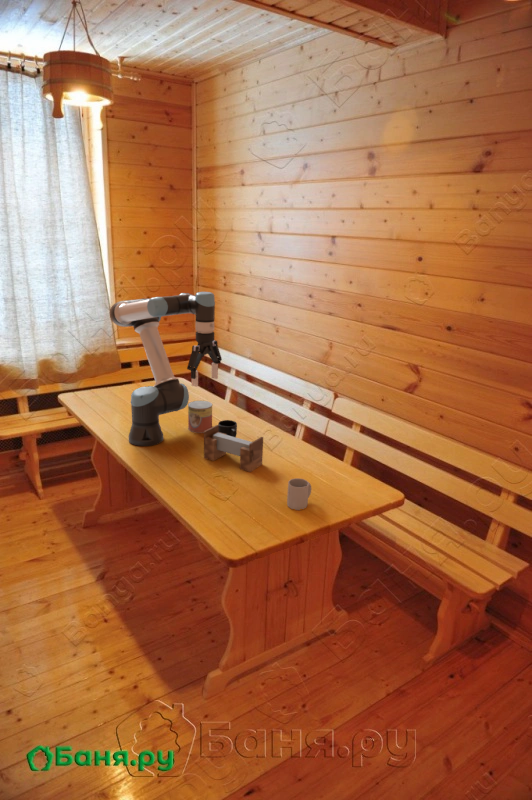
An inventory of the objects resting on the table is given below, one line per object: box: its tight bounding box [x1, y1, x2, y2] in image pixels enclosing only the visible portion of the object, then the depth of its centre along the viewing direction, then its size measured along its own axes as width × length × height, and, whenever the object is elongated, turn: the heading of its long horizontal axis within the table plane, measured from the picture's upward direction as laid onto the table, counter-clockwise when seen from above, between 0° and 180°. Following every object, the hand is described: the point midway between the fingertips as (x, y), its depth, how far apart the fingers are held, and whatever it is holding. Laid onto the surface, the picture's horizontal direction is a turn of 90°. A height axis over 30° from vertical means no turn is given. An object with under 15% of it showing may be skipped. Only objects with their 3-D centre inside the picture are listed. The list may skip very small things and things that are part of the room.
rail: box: [213, 433, 252, 457], centre depth 234 cm, size 19×4×6 cm, turn 59°
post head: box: [203, 424, 227, 462], centre depth 239 cm, size 5×9×12 cm, turn 149°
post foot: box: [239, 436, 264, 473], centre depth 230 cm, size 5×9×12 cm, turn 149°
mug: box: [217, 419, 238, 438], centre depth 251 cm, size 8×12×10 cm
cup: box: [286, 477, 312, 511], centre depth 203 cm, size 7×10×9 cm
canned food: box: [187, 400, 213, 434], centre depth 268 cm, size 11×11×12 cm
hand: (204, 382), depth 236 cm, fingers open, 13 cm apart
